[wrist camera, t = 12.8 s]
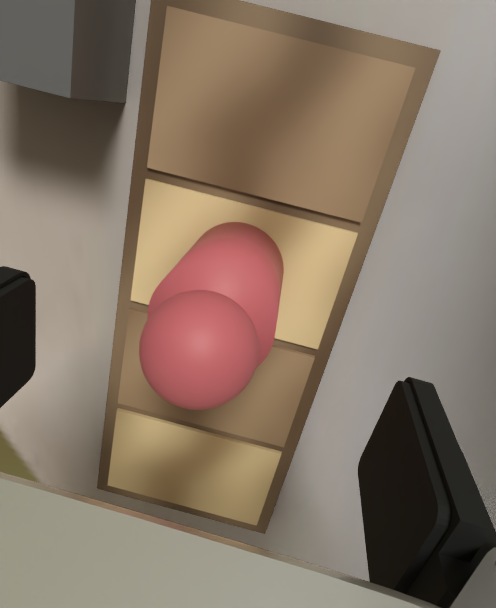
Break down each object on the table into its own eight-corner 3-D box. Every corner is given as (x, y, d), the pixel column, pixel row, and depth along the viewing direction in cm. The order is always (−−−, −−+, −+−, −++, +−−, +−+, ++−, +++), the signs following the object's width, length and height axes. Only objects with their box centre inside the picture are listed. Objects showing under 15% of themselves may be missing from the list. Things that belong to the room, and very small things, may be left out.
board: (433, 54, 17) (442, 49, 16) (266, 520, 28) (264, 536, 27) (161, -14, 17) (151, -23, 16) (103, 476, 28) (95, 490, 27)
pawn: (294, 235, 19) (286, 332, 10) (270, 321, 21) (246, 464, 12) (199, 211, 19) (112, 287, 10) (183, 298, 21) (98, 424, 12)
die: (139, -34, 17) (78, -92, 12) (126, 103, 19) (68, 98, 14) (18, -65, 17) (-90, -134, 12) (17, 75, 19) (-75, 61, 14)
